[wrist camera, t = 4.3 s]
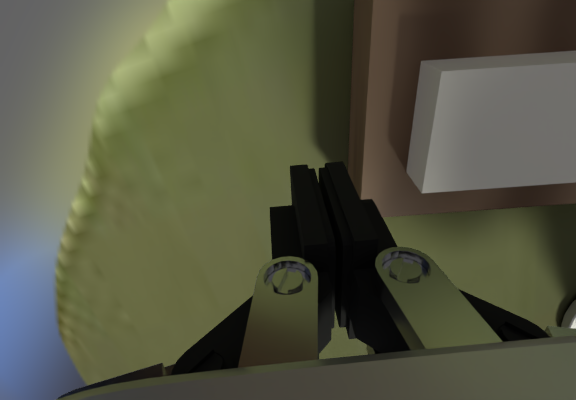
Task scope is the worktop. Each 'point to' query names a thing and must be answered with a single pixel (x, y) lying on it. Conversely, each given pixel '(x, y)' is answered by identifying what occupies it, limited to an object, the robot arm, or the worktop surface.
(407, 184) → the deck
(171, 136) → the worktop surface
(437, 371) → the robot arm
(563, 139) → the tile
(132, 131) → the worktop surface
